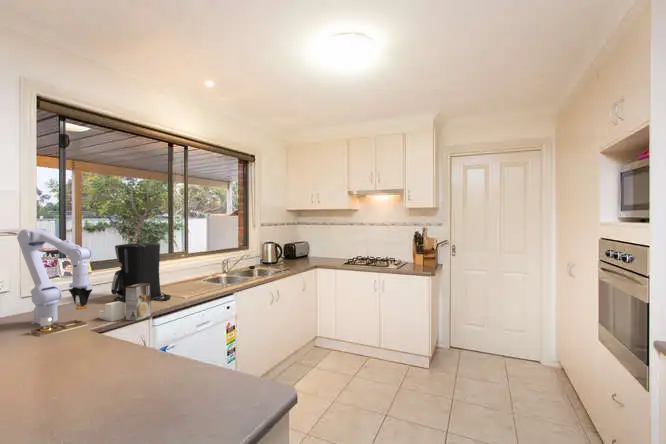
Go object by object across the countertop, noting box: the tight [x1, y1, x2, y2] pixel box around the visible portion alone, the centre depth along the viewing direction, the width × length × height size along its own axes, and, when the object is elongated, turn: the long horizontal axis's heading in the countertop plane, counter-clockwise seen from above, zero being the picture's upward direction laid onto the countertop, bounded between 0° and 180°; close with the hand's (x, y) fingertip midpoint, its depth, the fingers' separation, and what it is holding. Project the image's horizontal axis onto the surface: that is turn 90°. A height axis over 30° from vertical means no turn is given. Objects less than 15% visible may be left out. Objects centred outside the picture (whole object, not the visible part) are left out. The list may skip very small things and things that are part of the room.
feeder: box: [98, 301, 126, 322], centre depth 160 cm, size 11×6×8 cm, turn 63°
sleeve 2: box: [75, 295, 88, 310], centre depth 152 cm, size 4×4×6 cm
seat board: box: [29, 319, 88, 338], centre depth 143 cm, size 11×17×2 cm, turn 153°
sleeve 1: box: [39, 316, 54, 332], centre depth 139 cm, size 4×4×6 cm
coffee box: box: [125, 283, 152, 321], centre depth 162 cm, size 9×6×16 cm
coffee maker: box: [110, 242, 172, 303], centre depth 203 cm, size 23×32×34 cm
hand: (80, 304), depth 152 cm, fingers closed on sleeve 2, 4 cm apart
